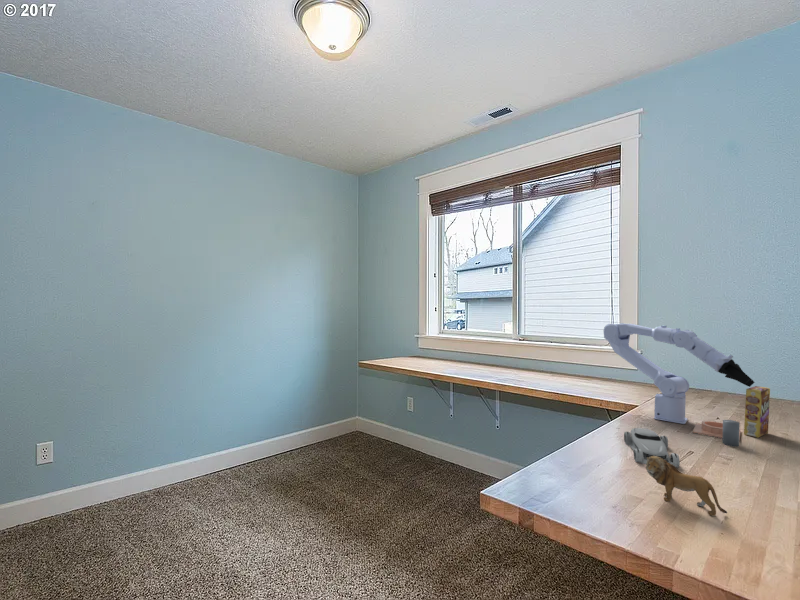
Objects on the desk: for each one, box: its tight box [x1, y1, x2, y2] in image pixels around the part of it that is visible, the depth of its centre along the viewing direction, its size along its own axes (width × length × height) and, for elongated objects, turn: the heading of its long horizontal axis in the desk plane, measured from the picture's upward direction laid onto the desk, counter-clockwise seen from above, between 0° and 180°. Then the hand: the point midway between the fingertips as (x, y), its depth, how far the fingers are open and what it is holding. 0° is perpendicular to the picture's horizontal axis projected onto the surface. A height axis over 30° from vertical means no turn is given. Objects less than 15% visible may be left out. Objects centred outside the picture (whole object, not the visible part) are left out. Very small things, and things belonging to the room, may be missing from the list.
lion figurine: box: [645, 456, 728, 517], centre depth 90 cm, size 15×5×9 cm, turn 50°
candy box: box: [743, 385, 771, 439], centre depth 137 cm, size 9×4×15 cm, turn 123°
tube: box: [721, 419, 741, 448], centre depth 127 cm, size 4×4×7 cm
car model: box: [623, 427, 681, 469], centre depth 121 cm, size 11×24×5 cm, turn 159°
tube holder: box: [692, 420, 741, 443], centre depth 138 cm, size 12×12×3 cm
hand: (750, 382), depth 132 cm, fingers open, 7 cm apart
